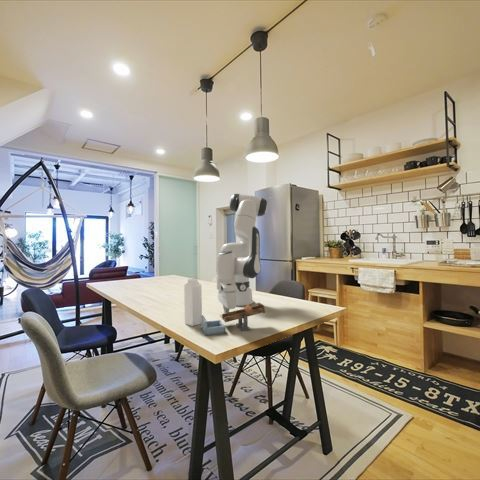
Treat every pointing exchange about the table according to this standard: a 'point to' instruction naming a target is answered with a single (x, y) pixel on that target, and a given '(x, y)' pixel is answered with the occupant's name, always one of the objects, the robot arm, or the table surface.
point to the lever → (242, 313)
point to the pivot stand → (243, 324)
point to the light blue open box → (212, 327)
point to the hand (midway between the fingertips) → (226, 314)
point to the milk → (193, 302)
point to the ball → (248, 308)
